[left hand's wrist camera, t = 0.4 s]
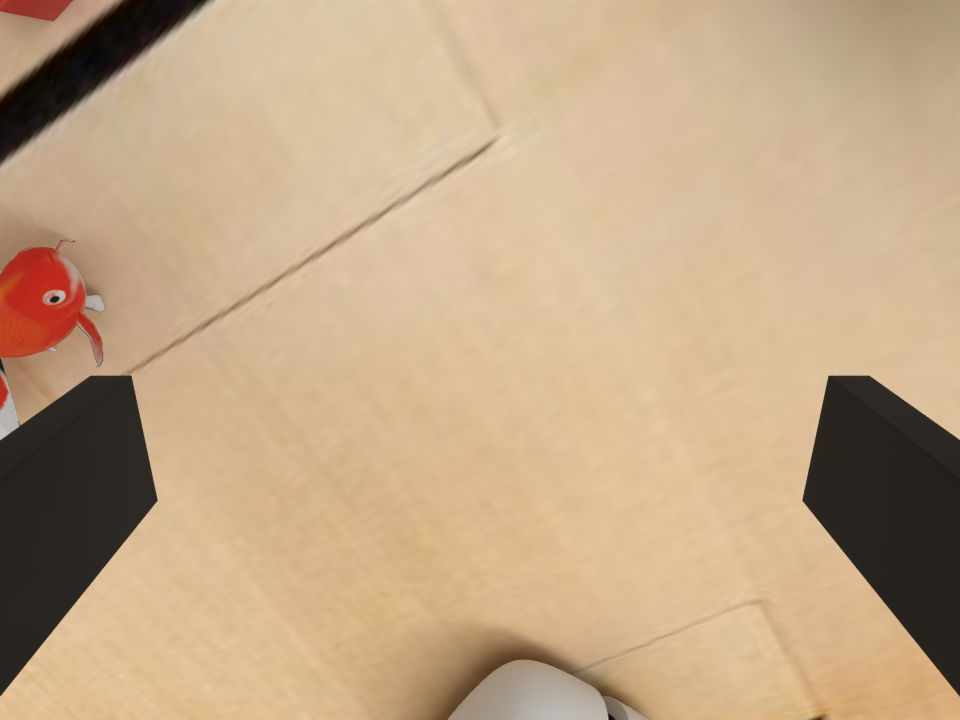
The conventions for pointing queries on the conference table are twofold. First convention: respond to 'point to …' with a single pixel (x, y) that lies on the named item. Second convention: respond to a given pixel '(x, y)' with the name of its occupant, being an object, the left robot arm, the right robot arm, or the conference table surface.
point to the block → (35, 8)
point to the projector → (538, 697)
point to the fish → (40, 312)
